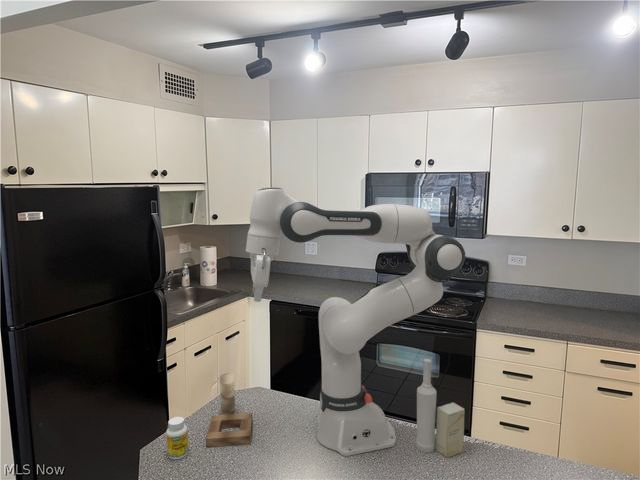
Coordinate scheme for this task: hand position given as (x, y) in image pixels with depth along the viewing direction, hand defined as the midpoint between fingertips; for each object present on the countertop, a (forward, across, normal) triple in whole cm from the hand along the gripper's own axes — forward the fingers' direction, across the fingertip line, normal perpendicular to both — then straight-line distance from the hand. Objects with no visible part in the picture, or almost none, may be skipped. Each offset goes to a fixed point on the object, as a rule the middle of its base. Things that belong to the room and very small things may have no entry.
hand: (256, 297), depth 113 cm
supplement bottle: (+45, 0, +16) cm, 47 cm away
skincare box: (+34, -13, -56) cm, 67 cm away
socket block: (+42, +7, +2) cm, 43 cm away
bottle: (+35, -11, -50) cm, 62 cm away
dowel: (+42, +19, +3) cm, 46 cm away
